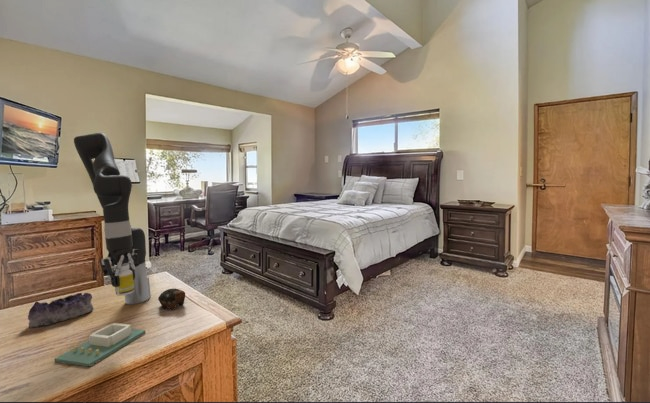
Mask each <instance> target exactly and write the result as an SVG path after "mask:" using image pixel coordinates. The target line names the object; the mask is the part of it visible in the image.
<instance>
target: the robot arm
mask: <svg viewBox="0 0 650 403" xmlns="http://www.w3.org/2000/svg"><path fill="white" fill-rule="evenodd" d="M73 144H74V147H75V149H76V152H77V154H78V156H79V158H80V160H81V162H82V164H83V166H84V168H85V170H86V172H87V175H88V176H89V179H90V181H91V183H92V186H93V187H92V188H93V191H94V194H96V197H97V199H98V201H99V204H100V207H101V208H102V213H103V222H104V223H103V224H104V227H103V228H104V230H103V231H104V239H105V247H106V251H108V254H107V257H105V258H100V259H99V264H100V269H101V270H102V274H103V276H104V277H110V283H111V286H112V287H113V288H115V287H118V286H120V283H119V276H118V272H119V269H120V268H121V265H122V264H129V270H131V271H132V273H133V282H134V292H132V293H130V294H127V295H124V301H125V304H126V305H137V304H141V303H143V302H144V303H145V302H146V301H148V300H149V299H150V298H151V285H150V278H149V276H148V274H147V273H148V272H147V265H146V255H147V247H146V245H147V244H146V243H147V242H146V234H145V231H144V230H143V229H142V228H140V227H132V225H131V222H130V221H131V220H130V214H129V202H130V197H131V192H132V189H133V183H132V179H130V177H129V176H127V175H125V174H121V173H120V172H121V171H120V170H119V168H118V166H117V163H116V161H115V155H114V151H113V148H112V143H111V141H110V140H109V138H108V136H107V135H106V134H105V133H102V132H95V133H89V134H83V135H77V136H75V137H74V138H73Z"/></svg>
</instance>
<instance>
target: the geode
mask: <svg viewBox="0 0 650 403" xmlns="http://www.w3.org/2000/svg"><path fill="white" fill-rule="evenodd" d="M92 299H93V295H92V294H91V293H89V292H85V293H82V292H80V293H79V292H78V293H75V294H71V295H68V296H65V297H63V298H58V299H55V300H51V302H49V303H48V302H45V301H44V302H38V301H35V302H34V304H33V305H32V306H31V308H29V311H28V315H27V320H28V328H29V329H38V328H44V327H47V326H49V325H53V324H55V323H58V322H63V321H67V320H70V319H74V318H78V317H79V316H82V315H85V314H88V313H89V312H92V311H93V310H94V306H93V305H94V304H93V302H92ZM37 327H38V328H37Z"/></svg>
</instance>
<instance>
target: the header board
mask: <svg viewBox="0 0 650 403" xmlns="http://www.w3.org/2000/svg"><path fill="white" fill-rule="evenodd" d="M144 334H146V330H144V329H136V328H132V324H128V323H126V324H125V323H118V322H116V323H115V322H113V323H110V324H107V325H105V326H104V327H102V328H100V329H98V330H96V331H94V332H92V333H91V334H90V335H89V336H88V339H89V340H87V341H85V342H83V343H82V344H79V345H78V346H77V345H75V346H73V348H72V349H70V350H69V351H66V352H64V353H63V354H60V355H58V356H56V357H55V358H54V362H55V363H63V364H67V363H68V365H73V364H75V365H74V366H79V365H84V366H83V367H86V366H91V365H92V366H94V365H95V364H94V363H96V362H97V363H98V361H99V360H101V359H102V360H103V358H104V359H106V358H108V357H109V356H111V354H113V353H116V352H117V351H119V350H120V349H122V348H124V347H125V346H127V345H129V344H130V343H131V342H134V341H135V340H136V339H138V338H140V337H142V336H143V335H144ZM102 360H101V361H102ZM99 362H100V361H99ZM97 363H96V364H97ZM93 364H94V365H93ZM92 366H91V367H92Z"/></svg>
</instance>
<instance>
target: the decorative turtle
mask: <svg viewBox="0 0 650 403" xmlns="http://www.w3.org/2000/svg"><path fill="white" fill-rule="evenodd" d="M157 299H158V301H159V304H160V305H161V307H162V308H163V309H164V310H166V309H169V310H170V311H174V310H175V309H176V307H177V306H181V307H182V306H183V305H184V304H185V299H186V292H185V291H184V290H182V289H180V288H169V289H166V290H164V291H162V292H161V293H160V294H159V296H158V298H157Z"/></svg>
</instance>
